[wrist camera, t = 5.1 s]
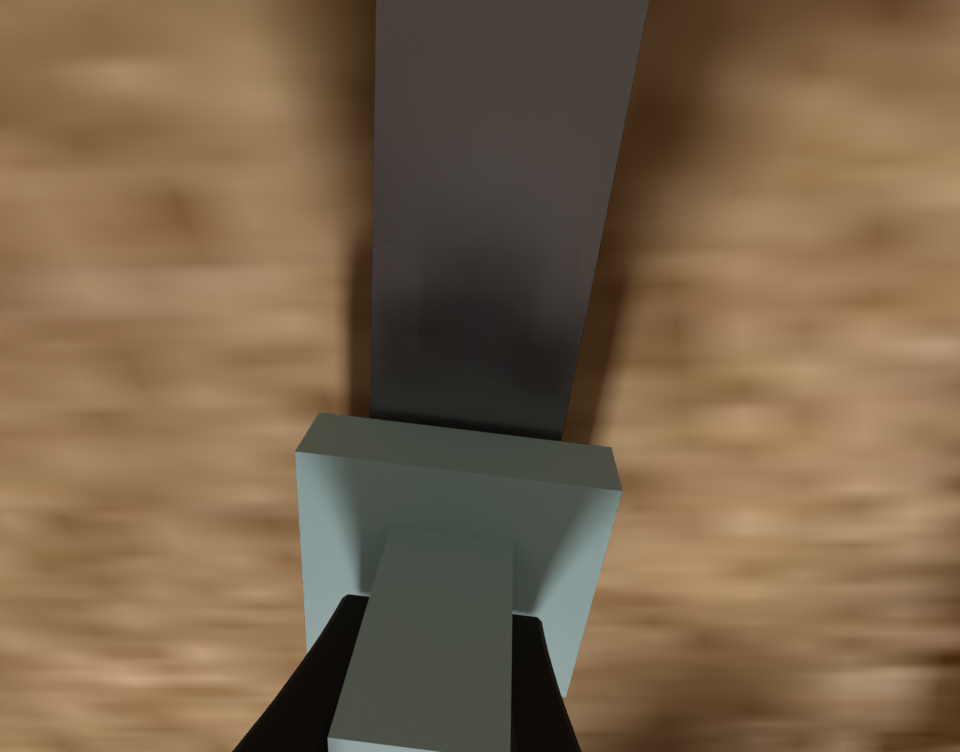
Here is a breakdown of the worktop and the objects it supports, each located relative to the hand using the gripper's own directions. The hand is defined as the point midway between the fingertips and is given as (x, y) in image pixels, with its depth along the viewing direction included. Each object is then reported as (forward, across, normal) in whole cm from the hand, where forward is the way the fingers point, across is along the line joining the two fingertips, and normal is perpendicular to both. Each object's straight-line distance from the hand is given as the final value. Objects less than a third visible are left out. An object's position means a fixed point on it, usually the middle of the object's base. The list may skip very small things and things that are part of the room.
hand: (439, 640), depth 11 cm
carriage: (+2, 0, 0) cm, 2 cm away
